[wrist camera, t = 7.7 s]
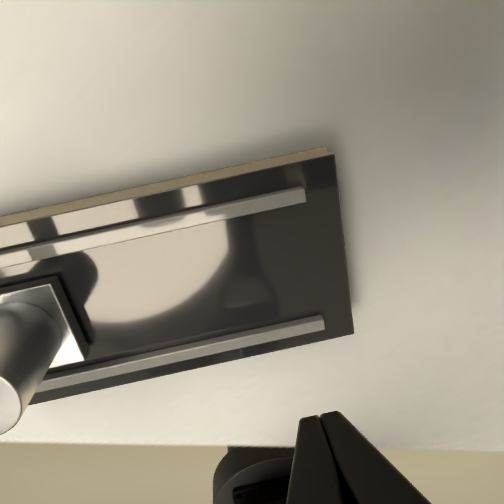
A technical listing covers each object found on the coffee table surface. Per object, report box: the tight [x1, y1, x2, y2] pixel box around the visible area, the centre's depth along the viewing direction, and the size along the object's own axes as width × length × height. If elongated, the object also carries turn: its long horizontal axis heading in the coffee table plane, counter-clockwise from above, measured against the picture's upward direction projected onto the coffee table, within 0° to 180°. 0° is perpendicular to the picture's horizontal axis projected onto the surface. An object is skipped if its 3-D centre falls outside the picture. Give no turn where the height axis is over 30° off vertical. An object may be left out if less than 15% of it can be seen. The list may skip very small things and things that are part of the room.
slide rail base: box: [0, 147, 354, 406], centre depth 19 cm, size 9×18×2 cm, turn 101°
